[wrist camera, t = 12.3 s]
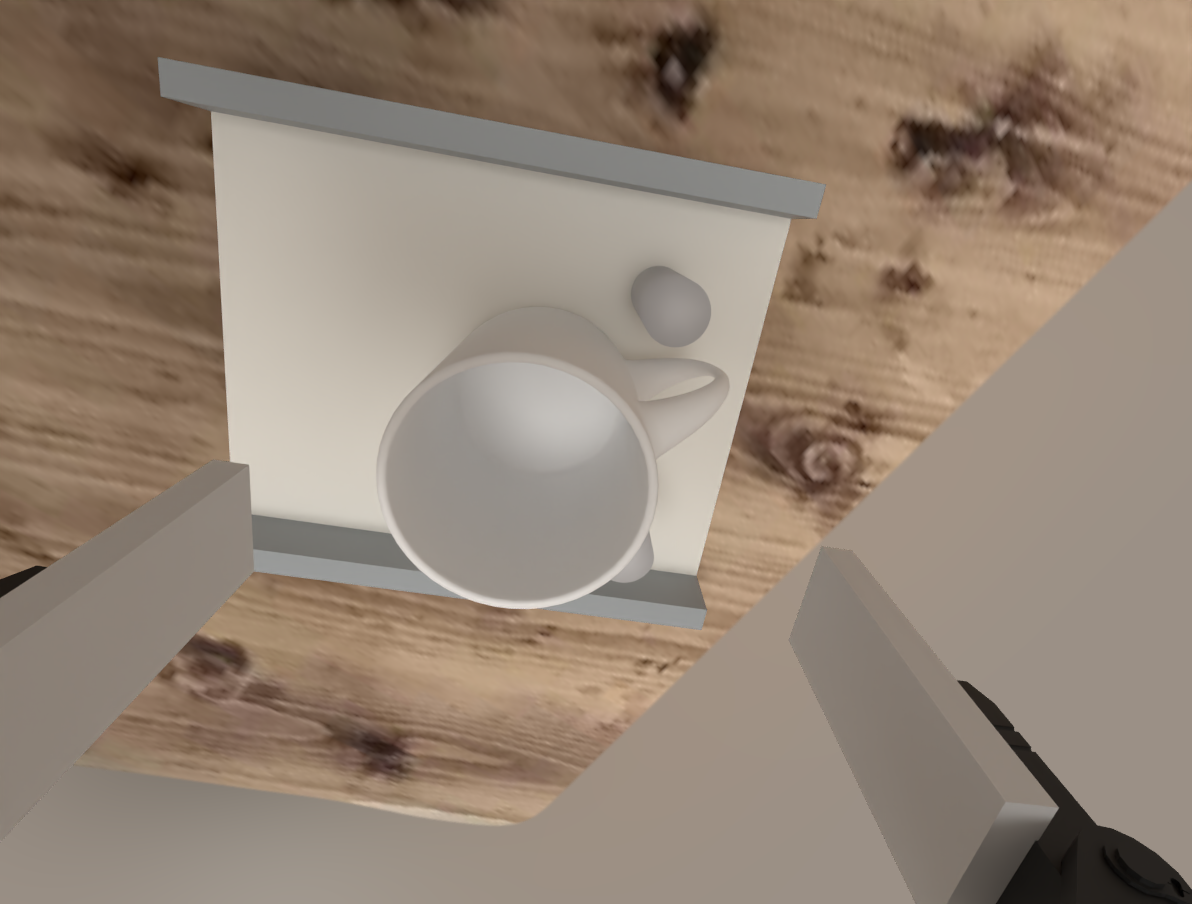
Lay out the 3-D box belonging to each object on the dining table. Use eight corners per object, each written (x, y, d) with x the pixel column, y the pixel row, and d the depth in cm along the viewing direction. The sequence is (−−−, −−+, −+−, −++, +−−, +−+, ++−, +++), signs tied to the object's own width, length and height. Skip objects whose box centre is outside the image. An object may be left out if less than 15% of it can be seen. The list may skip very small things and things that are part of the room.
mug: (721, 433, 29) (792, 544, 19) (488, 499, 30) (439, 637, 20) (678, 254, 26) (736, 276, 16) (421, 335, 27) (325, 401, 17)
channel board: (226, 83, 24) (89, 30, 18) (790, 190, 26) (860, 179, 20) (246, 521, 32) (154, 602, 25) (687, 582, 33) (713, 672, 27)
